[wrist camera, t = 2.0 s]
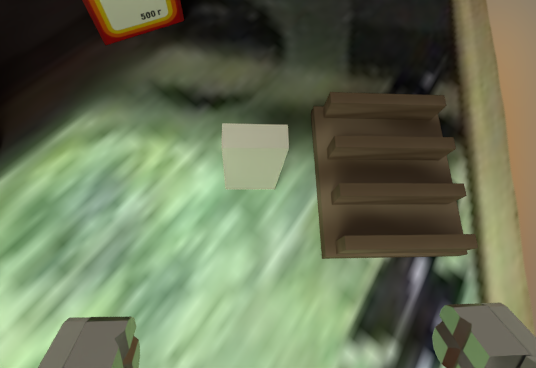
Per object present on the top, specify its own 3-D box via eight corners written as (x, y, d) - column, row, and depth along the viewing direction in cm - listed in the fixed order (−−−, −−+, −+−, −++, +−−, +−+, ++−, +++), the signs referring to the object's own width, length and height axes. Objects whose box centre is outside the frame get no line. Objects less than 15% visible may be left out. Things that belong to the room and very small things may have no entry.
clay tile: (274, 189, 35) (289, 148, 26) (225, 189, 35) (221, 147, 25) (274, 171, 36) (287, 124, 26) (225, 170, 35) (222, 123, 26)
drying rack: (458, 256, 34) (489, 249, 30) (322, 258, 33) (334, 252, 29) (429, 116, 40) (452, 94, 35) (310, 113, 38) (320, 90, 34)
